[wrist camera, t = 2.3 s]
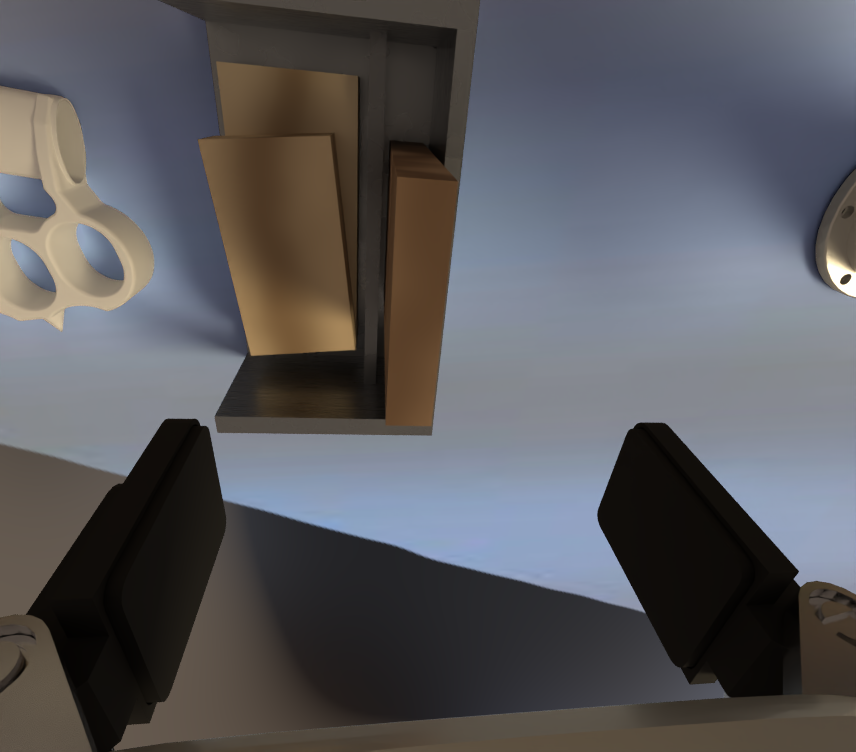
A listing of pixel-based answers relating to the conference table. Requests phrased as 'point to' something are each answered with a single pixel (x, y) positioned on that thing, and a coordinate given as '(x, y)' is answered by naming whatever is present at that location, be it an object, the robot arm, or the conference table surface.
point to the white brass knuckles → (60, 215)
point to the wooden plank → (415, 279)
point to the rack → (379, 123)
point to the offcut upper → (284, 239)
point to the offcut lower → (301, 124)
